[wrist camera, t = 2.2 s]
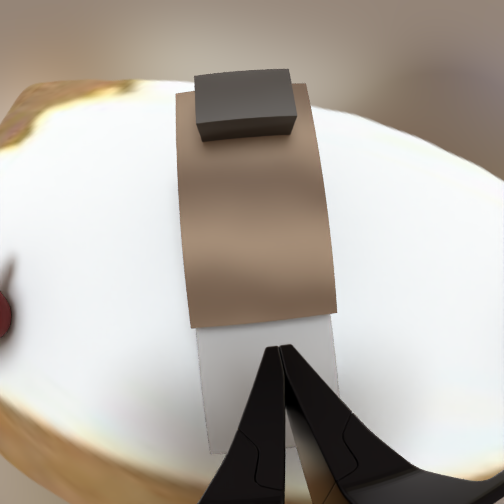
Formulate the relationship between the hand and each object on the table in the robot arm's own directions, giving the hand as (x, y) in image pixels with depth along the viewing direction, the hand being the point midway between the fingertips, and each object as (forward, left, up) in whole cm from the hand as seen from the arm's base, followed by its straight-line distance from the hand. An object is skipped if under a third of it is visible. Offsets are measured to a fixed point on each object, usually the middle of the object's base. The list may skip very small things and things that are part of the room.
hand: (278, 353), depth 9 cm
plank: (+5, +7, -6) cm, 11 cm away
